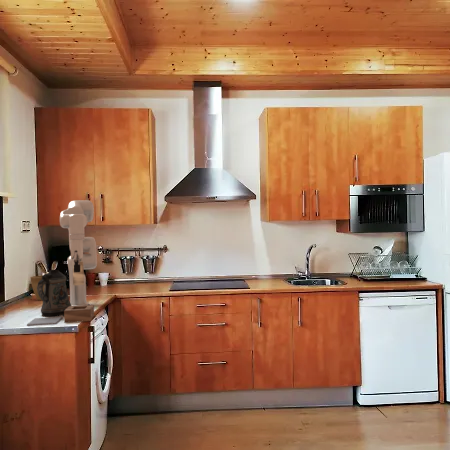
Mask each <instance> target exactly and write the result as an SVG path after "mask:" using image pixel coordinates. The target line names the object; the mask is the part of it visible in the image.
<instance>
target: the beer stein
mask: <svg viewBox="0 0 450 450" xmlns="http://www.w3.org/2000/svg"><path fill="white" fill-rule="evenodd" d="M66 281H67V276H66V275H65V274H63V273H62V272H61V271H60V270H59V269H49V270H48V272H47V273H45V274H43V276H42V280H40V281H39V282H38V285H37V293H38V295H39V297H40V298H41V299H42V300H41V301H42V306H41V308H40V313H41V317H44V318H49V317H62V316H64V310H66V309H67V308H68V307H69V306H72V305H71V303H70V296H69V293H68V290H67V285H66ZM44 284H45V286H44ZM43 286H44V292H43Z"/></svg>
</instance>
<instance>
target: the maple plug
mask: <svg viewBox="0 0 450 450" xmlns="http://www.w3.org/2000/svg"><path fill="white" fill-rule="evenodd" d="M79 265H80V272H74V262H73V285H83V284H84V275H85V272H84V269H83V261H80V264H79Z"/></svg>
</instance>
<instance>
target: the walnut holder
mask: <svg viewBox="0 0 450 450" xmlns="http://www.w3.org/2000/svg"><path fill="white" fill-rule="evenodd" d="M94 317H95V305H94V304H89V305H82V306H69V307H68V308H67V309H66V310H64V317H63V320H64V323H77V321H81V322H91V321H92V320H93V318H94Z"/></svg>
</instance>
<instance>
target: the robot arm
mask: <svg viewBox="0 0 450 450" xmlns="http://www.w3.org/2000/svg"><path fill="white" fill-rule="evenodd" d="M94 208H95V206H94V203H93V202H92V201H91V200H89V199H85V200H82V199H80V200H79V199H77V200H71V201H70V202H68V206H67V209H64V210H62V211H61V212H60V215H59V226H60V227H61V228H63V229H67V230H68V242H69V243H68V245H69V251H70V255H69V256H68V257H67V262H66V263H67V267H68V275H69V301H70V303H71V305H72V306H82V305H90V303H89V302H88V301H87V284H86V283H87V281H86V280H87V279H86V274H84V284H83V285H73V262H74V272H80V265H79V264H80V261H83V269H84V270H94V269H96V268H97V266H98V255H97V254H98V253H97V252H98V251H97V242H96V239H95V237H94V236H86V235H85V227H86V226H87V225H88V223H91V222H92V221H94V218H95V217H94V215H95V213H94V212H95V209H94ZM84 253H85V254H84ZM86 253H87V254H86Z"/></svg>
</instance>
